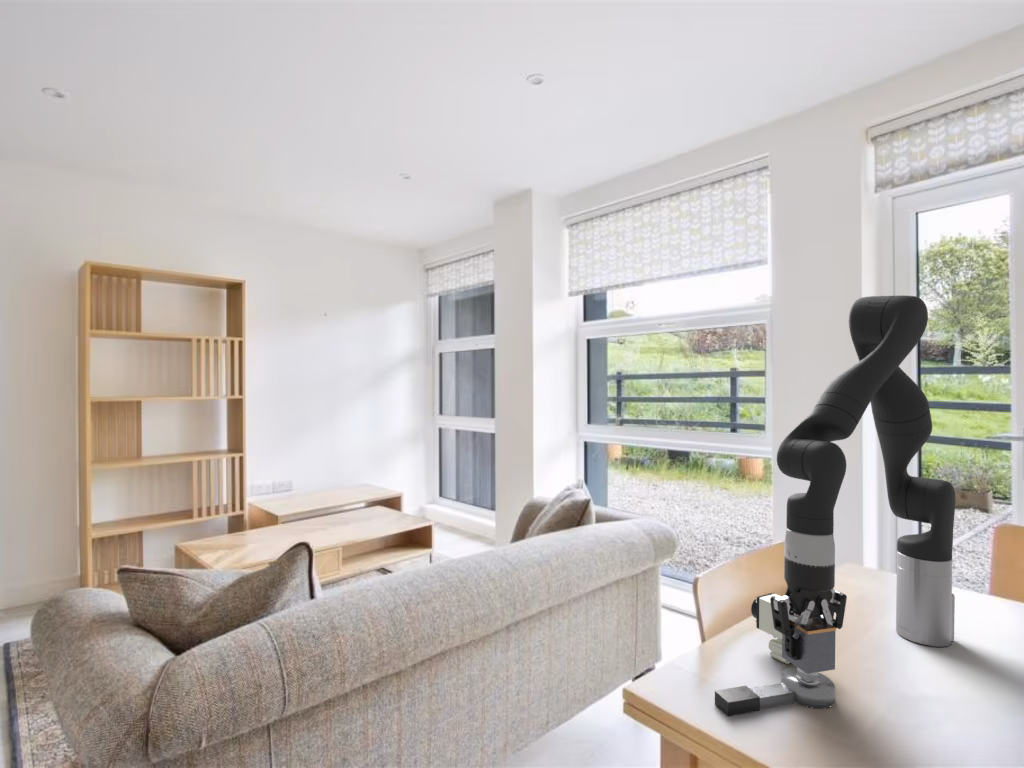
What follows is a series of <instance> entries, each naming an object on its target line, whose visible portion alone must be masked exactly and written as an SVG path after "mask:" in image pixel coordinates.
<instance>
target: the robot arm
mask: <svg viewBox="0 0 1024 768" xmlns="http://www.w3.org/2000/svg"><path fill="white" fill-rule="evenodd" d="M928 313H929V312H928V308H927V305H926V303H925V302H924V300H923V299H922V298H920V297H918V296H915V295H874V296H873V295H872V296H863V297H860V298H858V299H856V300H855V301H854V302H853V303H852V305H851V307H850V309H849V313H848V330H849V334H850V337H851V341H852V344H853V347H854V349H855V353H856V356H857V358H858V362H857V363H855V364H853V365H852V366H851V367H849V368H848V369H846V370H845V371H843V372H842V373H840V374H839V375H838V376H837V377H835V378H834V379H832V380H831V382H830V383H829V384H828V385H827V386H826V388H825V389H824V390H823V392H822V394H821V396H820V397H819V399H818V400H817V402H816V404H815V406H813V409H812V411H811V413H809V415H807V416H806V418H804V419H803V420H802V421H800V423H798V424H797V426H795V427H794V428H793V430H791V431H790V432H789V433H788V434H787V435H786V436H785V438H784V439H783V440H782V441H781V443H780V445H779V446H778V450H777V451H776V463H777V467H778V469H779V471H780V472H781V473H782V474H783V475H785V476H787V477H789V478H793V479H796V480H797V479H798V480H803V481H808V482H809V486H808V489H807V491H806V492H799V493H798V492H797V493H793V494H791V495H789V496H788V498H787V500H786V530H785V535H784V536H785V537H784V562H783V563H784V566H783V567H784V572H783V573H784V576H783V577H784V581H785V583H786V585H787V587H786V591H785V594H784V595H782V597H779V598H777V597H775V596H772V597H771V598H770V602H771V609H772V616H773V623H774V629H775V630H777V631H778V632H780V633H782V634H783V635H785V652H786V653H787V655H788V656H789V657H790V658H792V659H793V660H799V655H800V639H799V636H800V627H805V626H806V624H807V621H808V619H810V618H812V617H814V618H816V619H819V620H820V621H822V622H823V623H825V624H827V623H828V624H830V625H832V626H834V627H836V629H838V630H841V629H842V628H843V625H844V618H845V612H846V606H847V599H848V598H847V597H848V596H847V594H845V593H843V592H841V591H839V590H836V589H834V588H835V586H836V585H835V584H836V582H835V580H836V575H835V573H836V563H835V561H836V546H835V545H836V544H835V538H834V530H835V529H834V524H835V523H834V522H835V521H834V511H835V506H836V504H837V500H838V496H839V494H840V489H841V487H842V484H843V481H844V479H845V475H846V473H847V460H846V459H847V458H846V455H845V453H844V451H843V450H842V448H841V447H840V446H839V445H838V444H836V443H834V442H836V441H843V440H846V439H848V438H850V436H851V435H852V434H853V433H854V431H855V429H856V428H857V426H858V424H859V422H860V421H861V419H862V417H863V415H864V414H865V411H866V410H867V408H868V406H869V405H870V408H871V413H872V418H873V421H874V426H875V427H874V428H875V429H876V434H877V437H878V442H879V445H880V449H881V454H882V460H883V466H884V473H885V474H884V475H885V482H886V483H885V484H886V492H887V499H888V505H889V508H890V510H891V512H892V513H893V515H894V516H896V518H899V519H902V520H903V519H904V520H909V521H913V522H920V523H923V524H924V523H925V524H930V529H929V530H928V531H926V532H922V533H916V534H913V533H912V534H907V535H906V534H905V535H902V536H899V537H898V538H897V541H896V601H895V602H896V603H895V605H896V606H895V607H896V608H895V609H896V610H895V631H896V633H897V634H898V635H899V636H901V637H902V638H904V639H906V640H909V641H911V642H914V643H917V644H920V645H924V646H930V647H938V648H942V647H948V646H950V645H951V644H952V641H955V614H956V613H955V602H956V601H955V599H956V597H955V594H954V593H953V546H954V524H955V523H954V522H955V515H956V514H955V511H956V501H957V500H956V492H955V491H956V490H955V488H954V485H953V484H952V483H951V482H949V481H947V480H943V479H938V478H937V479H935V478H928V477H921V476H920V477H919V476H911V475H909V472H908V466H909V464H910V463H911V461H912V460H913V458H914V457H915V456H916V454H917V453H918V452H919V451H920V450H921V449H922V447H923V446H924V445H925V444H926V442H927V441H928V439H929V438H930V437H931V434H932V431H933V422H932V416H931V410H930V405H929V400H928V397H927V396H926V394H925V393H924V391H923V390H922V389H921V387H920V386H918V384H917V383H916V382H915V381H914V380H913V379H912V378H911V377H910V376H909V375H908V374H907V373H906V372H904V370H903V369H902V368H901V367H900V365H901V364H902V363H903V362H904V361H905V359H906V358H907V356H908V355H909V354H911V352H912V351H913V349H914V348H915V347H916V346H917V345H918V343H919V342H920V340H921V339H922V337H923V335H924V334H925V332H926V328H927V325H928V320H929V314H928ZM794 613H795V614H796V615H798V616H800V618H799V619H798V618H796V617H795V616H794ZM834 616H835V618H834ZM791 622H795V625H794V628H793V629H792V628H791Z"/></svg>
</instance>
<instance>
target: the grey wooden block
mask: <svg viewBox="0 0 1024 768" xmlns="http://www.w3.org/2000/svg"><path fill="white" fill-rule="evenodd" d="M794 616H795V617H796V618H798V619H799V618H800V616H798V615H794ZM794 625H795V622H791V628H792V629H793V628H794ZM836 631H837V628H836V627H834V626H832V625H830V624H828V623H827V624H825V623H823V622H822V621H820V620H819V619H816V618H814V617H812V618H810V619H808V621H807V624H806V626H805V627H800V636H799V639H800V655H799V660H793V659H792V658H790V657H789V656H788V655H787V653H786V652H785V635H783V634H782V657H783V658H784V659H786V660H787V661H789V662H790V663H791V664H792V665H793V666H795V668H797V667H798V668H799V669H801V670H802V671H804V672H805V673H807V674H810V673H816V672H818V673H821V672H828V671H832V670H833V671H834V670H836Z"/></svg>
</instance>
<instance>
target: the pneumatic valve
mask: <svg viewBox="0 0 1024 768" xmlns="http://www.w3.org/2000/svg"><path fill="white" fill-rule="evenodd" d="M772 596H775V597H777V598H779V597H782V596H783V595H782V596H781V595H779V594H776V593H774V592H769V593H766V594H762V595H758V596H756V598H755V599H754V600H753V601H752V603H751V608H750V611H751V615H752V617H753V618H754V619H755V623H756V625H755V626H756V627H755V628H756V629H759V631H762V632H764V633H766V634H768V635H771V636H772V637H773V638H770V641H768V649H769V651H770V653H769V655H770V657H772V659H775V660H776V661H779V662H781V663H782V662H783V664H784V663H785V664H784V665H786V664H788V665H790V662H789V661H787V660H786V659H784V658H783V657H782V633H780V632H778V631H777V630H775V629H774V623H773V616H772V609H771V602H770V598H771V597H772ZM794 615H796V614H795V613H794Z"/></svg>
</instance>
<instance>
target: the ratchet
mask: <svg viewBox="0 0 1024 768" xmlns="http://www.w3.org/2000/svg"><path fill="white" fill-rule="evenodd" d="M780 677H781V678H780V681H781V682H779V683H773V684H766V685H762V686H757V687H756V686H755V687H748V686H747V685H740V686H736V687H729V688H722V689H718V690H714V705H715V706H716V707H717V708H719V710H720V711H722V712H723V713H724V714H725V715H726V716H727V717H733V716H737V715H743V714H749V713H754V712H759V711H761V710H763V709H764V710H765V709H768V708H773V707H778V706H785V705H789V703H791V704H795V703H794V702H796V704H797V703H798V705H800V706H803V705H804V706H803V707H806V706H808V707H807V708H810V707H813V708H812V709H816V708H826V709H829V708H828V707H830V706H832V705H833V704H834V705H835V703H836V702H835V701H836V699H835V698H836V693H835V691H836V686H835V683H834V682H833V680H831V678H829V677H828V676H826V675H824V674H822V673H821V672H816V673H810V674H807V673H805V672H804V671H802V670H801V669H799V668H798V667H788V668H785V669H783V670H782V671H781V675H780ZM834 702H835V703H834ZM834 705H833V706H834ZM833 706H832V707H833ZM830 708H831V707H830Z"/></svg>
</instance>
